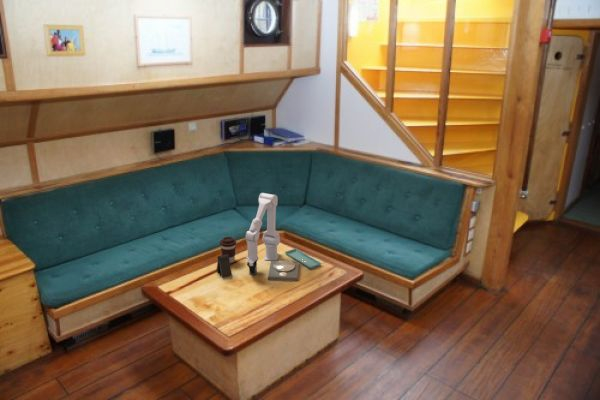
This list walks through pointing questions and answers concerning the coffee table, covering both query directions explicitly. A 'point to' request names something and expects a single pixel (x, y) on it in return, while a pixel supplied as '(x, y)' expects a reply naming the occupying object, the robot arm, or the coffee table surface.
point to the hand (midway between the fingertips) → (253, 271)
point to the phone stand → (224, 266)
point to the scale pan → (284, 265)
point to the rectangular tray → (300, 255)
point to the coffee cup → (228, 247)
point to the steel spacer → (254, 272)
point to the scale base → (283, 273)
